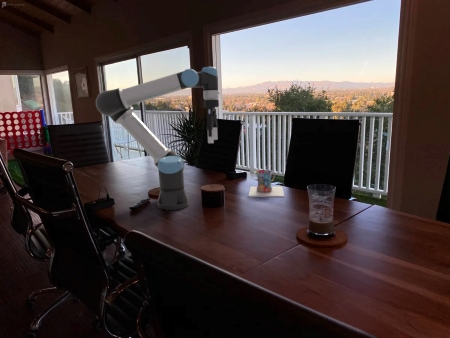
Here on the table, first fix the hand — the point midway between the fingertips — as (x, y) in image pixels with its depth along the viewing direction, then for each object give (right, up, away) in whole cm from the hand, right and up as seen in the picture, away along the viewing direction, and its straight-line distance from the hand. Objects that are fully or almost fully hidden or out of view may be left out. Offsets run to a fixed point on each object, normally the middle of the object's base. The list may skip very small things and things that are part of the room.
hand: (213, 141), depth 165 cm
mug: (+29, -26, +8) cm, 40 cm away
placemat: (+28, -27, +7) cm, 40 cm away
